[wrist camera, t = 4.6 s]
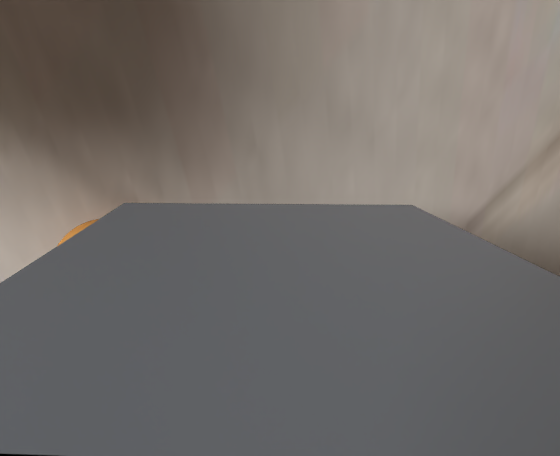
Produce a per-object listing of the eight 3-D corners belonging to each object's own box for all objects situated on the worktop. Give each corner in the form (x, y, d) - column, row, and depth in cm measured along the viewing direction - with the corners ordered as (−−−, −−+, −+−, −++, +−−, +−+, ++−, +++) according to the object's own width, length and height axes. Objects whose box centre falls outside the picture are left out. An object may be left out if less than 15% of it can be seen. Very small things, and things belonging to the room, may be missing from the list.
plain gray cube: (378, 417, 11) (586, 881, 4) (151, 432, 10) (-32, 1027, 4) (412, 205, 9) (978, 478, 2) (124, 203, 8) (-564, 644, 1)
